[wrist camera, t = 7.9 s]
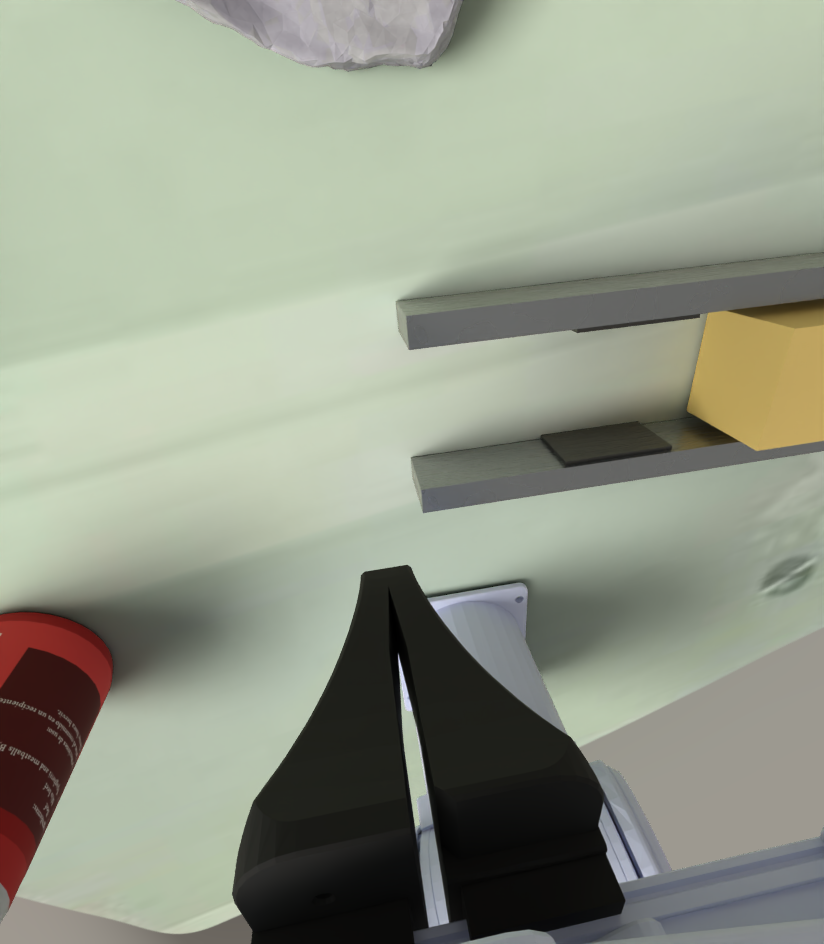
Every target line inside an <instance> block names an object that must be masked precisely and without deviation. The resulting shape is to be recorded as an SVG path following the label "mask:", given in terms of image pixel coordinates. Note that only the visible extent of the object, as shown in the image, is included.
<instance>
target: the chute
mask: <svg viewBox="0 0 824 944" xmlns="http://www.w3.org/2000/svg"><path fill="white" fill-rule="evenodd" d="M816 299H824V252H822V253H813V254H805V255H796V256H787V257H779V258H770V259H761V260H752V261H744V262H735V263H726V264H717V265H709V266H700V267H691V268H683V269H674V270H665V271H656V272H648V273H639V274H630V275H622V276H613V277H604V278H595V279H587V280H578V281H569V282H560V283H552V284H543V285H534V286H526V287H517V288H508V289H499V290H491V291H482V292H473V293H465V294H456V295H447V296H438V297H430V298H421V299H412V300H403V301H396V308H397V318H398V329H399V333H400V335H401V336H402V338H403V340H404V342H405V344H406V345H407V347H408V349H409V350H413V349H421V348H429V347H437V346H445V345H453V344H461V343H469V342H477V341H485V340H493V339H501V338H509V337H517V336H525V335H534V334H542V333H550V332H558V331H566V330H572V331H574V332H576V333H580V332H588V331H596V330H604V329H612V328H620V327H628V326H637V325H645V324H653V323H661V322H669V321H677V320H685V319H693V318H700V314H703V313H711V312H719V311H727V310H735V309H743V308H751V307H759V306H767V305H775V304H783V303H791V302H800V301H808V300H816ZM820 451H824V441H819V442H812V443H806V444H799V445H793V446H786V447H780V448H773V449H767V450H760V451H756V450H754V449H752V448H751V447H749V446H747V445H745V444H744V443H742V442H740V441H738V440H737V439H735V438H733V437H731V436H730V435H728V434H726V433H724V432H723V431H721V430H719V429H717V428H716V427H714V426H712V425H710V424H709V423H707V422H705V421H703V420H702V419H700V418H698V417H690V418H683V419H676V420H669V421H662V422H655V423H648V424H640V423H639V422H638V421H637V422H630V423H623V424H616V425H609V426H602V427H595V428H588V429H582V430H575V431H568V432H561V433H554V434H547V435H541V439H537V440H530V441H523V442H517V443H510V444H503V445H496V446H489V447H482V448H475V449H468V450H461V451H454V452H447V453H440V454H433V455H426V456H420V457H413V458H411V465H412V475H413V481H414V484H415V488H416V491H417V494H418V498H419V501H420V504H421V508H422V511H423V513H427V512H433V511H439V510H446V509H452V508H459V507H465V506H472V505H478V504H485V503H491V502H497V501H504V500H510V499H517V498H523V497H530V496H536V495H543V494H549V493H555V492H562V491H568V490H575V489H581V488H588V487H594V486H601V485H607V484H613V483H620V482H626V481H633V480H639V479H646V478H652V477H659V476H665V475H671V474H678V473H684V472H691V471H697V470H704V469H710V468H717V467H723V466H729V465H736V464H742V463H749V462H755V461H762V460H768V459H775V458H781V457H787V456H794V455H800V454H807V453H813V452H820Z"/></svg>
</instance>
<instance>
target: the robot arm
mask: <svg viewBox="0 0 824 944" xmlns="http://www.w3.org/2000/svg"><path fill="white" fill-rule="evenodd" d="M519 596H520V597H519ZM517 597H519V598H517ZM527 598H528V590H527V587H526V585H525V584H524V583H513V584H508V585H502V586H496V587H490V588H484V589H478V590H473V591H467V592H461V593H455V594H449V595H443V596H438V597H432V598H427V597H426V596H425V594H424V592H423V591H422V589H421V587H420V586H419V584H418V582H417V580H416V578H415V576H414V574H413V571H412V569H411V567H409V566H408V565H404V566H397V567H391V568H385V569H379V570H373V571H367V572H364V573H363V574H362V575H361V583H360V590H359V595H358V600H357V604H356V608H355V612H354V615H353V619H352V622H351V625H350V629H349V632H348V635H347V638H346V640H345V643H344V646H343V648H342V651H341V654H340V656H339V659H338V661H337V664H336V666H335V668H334V671H333V673H332V675H331V677H330V680H329V682H328V684H327V686H326V688H325V690H324V692H323V694H322V696H321V698H320V700H319V702H318V703H317V705H316V707H315V709H314V711H313V713H312V715H311V716H310V718H309V720H308V722H307V723H306V725H305V727H304V728H303V730H302V732H301V733H300V735H299V736H298V738H297V739H296V741H295V743H294V744H293V746H292V747H291V749H290V751H289V752H288V754H287V755H286V757H285V758H284V760H283V761H282V763H281V764H280V766H279V767H278V768H277V770H276V771H275V772H274V774H273V775H272V777H271V778H270V779H269V781H268V782H267V783H266V785H265V786H264V787H263V789H262V790H261V792H260V793H259V794H258V796H257V797H256V798H255V800H254V801H253V804H252V807H251V810H250V813H249V816H248V819H247V822H246V825H245V828H244V832H243V835H242V839H241V844H240V847H239V851H238V857H237V863H236V870H235V877H234V884H233V892H232V896H233V899H234V902H235V904H236V906H237V907H238V909H239V910H240V912H241V913H242V915H243V916H244V918H245V920H246V921H247V923H248V924H249V926H250V927H251V929H252V930H253V932H252V942H251V944H824V827H823V829H822V831H821V836H819V837H815V838H811V839H806V840H802V841H798V842H794V843H789V844H785V845H781V846H776V847H772V848H768V849H764V850H760V851H755V852H751V853H747V854H742V855H738V856H734V857H730V858H725V859H721V860H717V861H713V862H708V863H704V864H699V865H695V866H691V867H687V868H682V869H678V870H674V871H672V869H671V867H670V865H669V863H668V860H667V858H666V856H665V854H664V852H663V850H662V848H661V846H660V844H659V842H658V840H657V838H656V836H655V834H654V832H653V830H652V828H651V826H650V824H649V822H648V820H647V818H646V816H645V814H644V812H643V810H642V808H641V807H640V805H639V803H638V801H637V799H636V797H635V796H634V794H633V792H632V790H631V789H630V787H629V785H628V784H627V782H626V780H625V779H624V777H623V776H622V775H621V773H620V772H619V771H617V770H615V769H613V768H611V767H610V766H606V765H605V763H604V762H603V761H601V760H597V761H594V762H591V763H588V761H587V760H586V758H585V757H584V755H583V754H582V752H581V751H580V749H579V748H578V747H577V745H576V743H575V742H574V741H573V740H572V738H571V737H570V736H568V735H567V732H566V730H565V728H564V726H563V724H562V721H561V719H560V717H559V715H558V712H557V710H556V708H555V706H554V704H553V701H552V699H551V697H550V695H549V692H548V690H547V688H546V686H545V684H544V681H543V679H542V677H541V675H540V672H539V670H538V668H537V666H536V663H535V661H534V659H533V657H532V655H531V652H530V650H529V648H528V646H527V643H526V641H525V637H526V618H527ZM399 670H400V676H401V683H402V690H403V697H404V704H405V709H406V710H408V711H413V715H414V719H415V724H416V730H417V736H418V742H419V748H420V755H421V761H422V767H423V773H424V779H425V785H426V791H427V794H425V795H423V796H421V797H419V798H417V806H418V813H419V821H420V825H419V826H416V827H415V825H414V817H413V810H412V803H411V796H410V788H409V781H408V774H407V767H406V759H405V752H404V743H403V732H402V715H401V696H400V677H399Z"/></svg>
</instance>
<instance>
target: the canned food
mask: <svg viewBox="0 0 824 944" xmlns="http://www.w3.org/2000/svg"><path fill="white" fill-rule="evenodd" d="M112 673H113V661H112V656H111V654H110V651H109V649H108V648H107V646H106V645H105V643H104V642H103V641H102V640H101V639H100V638H99V637H98V636H97V635H96V634H95V633H93V632H92V631H90V630H89V629H87V628H85V627H84V626H82V625H80V624H78V623H76V622H73V621H71V620H69V619H65V618H62V617H58V616H55V615H50V614H43V613H36V612H17V613H8V614H2V615H0V923H1V921H2V920H3V918H4V916H5V915H6V913H7V912H8V910H9V908H10V906H11V904H12V901H13V899H14V897H15V895H16V893H17V891H18V888H19V886H20V884H21V882H22V880H23V878H24V876H25V875H26V872H27V870H28V868H29V866H30V864H31V861H32V859H33V857H34V855H35V853H36V850H37V848H38V846H39V844H40V841H41V839H42V837H43V835H44V833H45V830H46V828H47V826H48V824H49V822H50V819H51V817H52V815H53V813H54V811H55V808H56V806H57V804H58V802H59V800H60V797H61V795H62V793H63V791H64V789H65V786H66V784H67V782H68V780H69V778H70V775H71V773H72V771H73V769H74V767H75V764H76V762H77V760H78V758H79V756H80V753H81V751H82V749H83V747H84V745H85V742H86V740H87V738H88V736H89V734H90V731H91V729H92V727H93V725H94V723H95V720H96V718H97V716H98V714H99V712H100V709H101V707H102V705H103V703H104V701H105V698H106V696H107V694H108V692H109V690H110V686H111V682H112Z"/></svg>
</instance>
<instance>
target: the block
mask: <svg viewBox="0 0 824 944" xmlns="http://www.w3.org/2000/svg"><path fill="white" fill-rule="evenodd" d="M687 411H688V412H689V413H691V414H693V415H695V416H696V417H698V418H700V419H702V420H703V421H705V422H707V423H709V424H710V425H712V426H714V427H716V428H717V429H719V430H721V431H723V432H724V433H726V434H728V435H730V436H731V437H733V438H735V439H737V440H738V441H740V442H742V443H744V444H745V445H747V446H749V447H751V448H752V449H754V450H756V451H760V450H767V449H773V448H780V447H786V446H793V445H799V444H806V443H812V442H819V441H824V299H816V300H808V301H800V302H791V303H783V304H775V305H767V306H759V307H751V308H743V309H735V310H727V311H719V312H711V313H708V315H707V320H706V324H705V329H704V334H703V338H702V343H701V347H700V352H699V356H698V361H697V365H696V370H695V375H694V379H693V384H692V388H691V393H690V397H689V402H688V406H687Z"/></svg>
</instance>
